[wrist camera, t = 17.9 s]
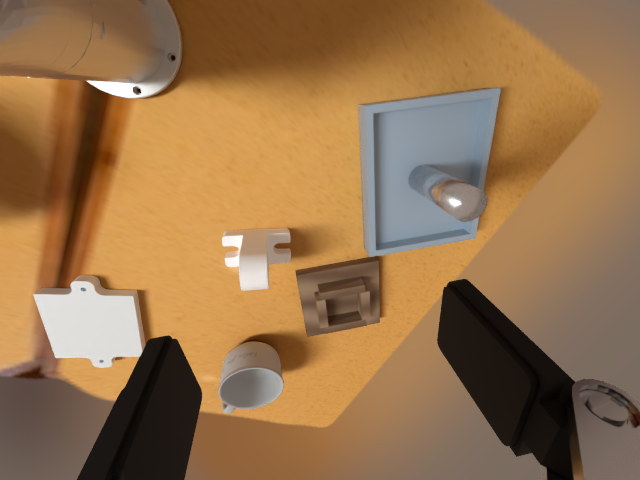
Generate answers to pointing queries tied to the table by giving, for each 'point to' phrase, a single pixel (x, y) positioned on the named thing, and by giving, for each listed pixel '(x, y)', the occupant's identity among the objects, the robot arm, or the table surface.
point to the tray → (421, 149)
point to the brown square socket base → (340, 295)
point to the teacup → (250, 377)
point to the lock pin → (448, 193)
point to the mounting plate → (91, 321)
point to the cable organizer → (256, 254)
